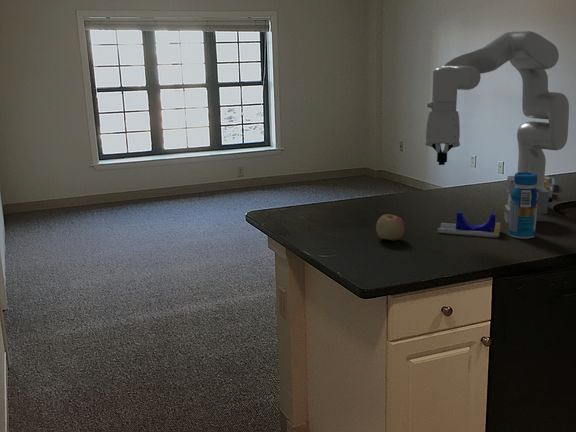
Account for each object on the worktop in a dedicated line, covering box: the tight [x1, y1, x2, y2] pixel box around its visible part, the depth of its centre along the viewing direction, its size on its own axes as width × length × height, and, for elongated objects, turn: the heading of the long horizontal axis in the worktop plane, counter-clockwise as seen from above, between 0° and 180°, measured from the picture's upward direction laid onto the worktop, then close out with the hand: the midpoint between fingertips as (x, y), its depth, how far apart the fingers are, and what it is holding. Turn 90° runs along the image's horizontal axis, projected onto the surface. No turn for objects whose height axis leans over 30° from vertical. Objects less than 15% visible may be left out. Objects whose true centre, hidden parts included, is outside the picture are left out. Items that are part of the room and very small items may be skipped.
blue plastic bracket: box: [455, 210, 497, 232], centre depth 207 cm, size 12×4×6 cm, turn 70°
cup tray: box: [546, 176, 555, 192], centre depth 271 cm, size 15×15×3 cm
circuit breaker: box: [503, 175, 553, 224], centre depth 218 cm, size 8×14×15 cm, turn 78°
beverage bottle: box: [507, 172, 538, 240], centre depth 200 cm, size 8×8×20 cm
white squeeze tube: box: [437, 221, 502, 239], centre depth 207 cm, size 8×19×3 cm, turn 69°
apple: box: [375, 213, 406, 242], centre depth 200 cm, size 9×9×8 cm
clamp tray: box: [506, 186, 553, 199], centre depth 257 cm, size 9×17×3 cm, turn 69°
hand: (441, 164), depth 205 cm, fingers closed
